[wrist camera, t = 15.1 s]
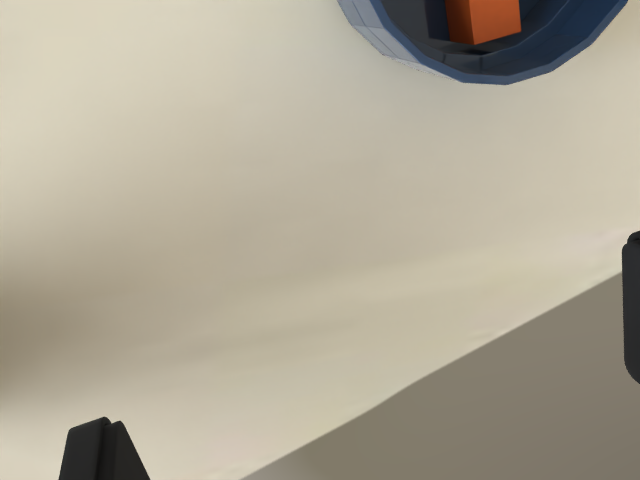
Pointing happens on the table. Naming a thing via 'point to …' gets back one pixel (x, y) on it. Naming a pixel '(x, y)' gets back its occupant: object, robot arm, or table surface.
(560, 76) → the table surface
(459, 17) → the screwdriver
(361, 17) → the navy round tub
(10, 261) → the table surface
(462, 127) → the table surface
